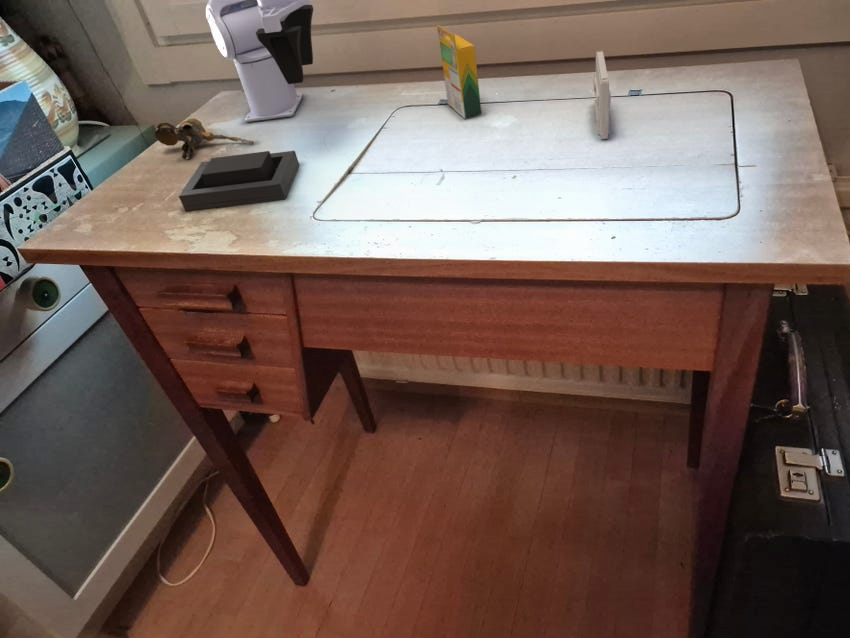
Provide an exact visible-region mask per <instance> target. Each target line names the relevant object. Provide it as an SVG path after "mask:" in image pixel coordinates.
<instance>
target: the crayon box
mask: <svg viewBox="0 0 850 638" xmlns="http://www.w3.org/2000/svg"><path fill="white" fill-rule="evenodd" d="M436 29H437V35H438V40H439V41H438V42H439V47H440V55H441V63H442V69H443V77H444V85H445V86H444V87H445V92H446V99H447V101H446V102H447V106H449V107H450V108H452V109H453V110H454V111H455V112H456V113H457V114H458V115H460V116H461V117H462V118H463V119H464V120H466V119H470V118H473V117H476V116H480V115H482V105H481V98H480V97H481V95H480V87H479V77H478V68H477V59H476V48H475V45H474V44H472V43H471V42H469V41H467V40H465V39H464V38H462V37H461V36H459V35H458V34H453V33H452V32H450V31H449V30H447V29H445V28H444V27H442V26H440V25H439V24H436ZM444 35H446V36H444Z"/></svg>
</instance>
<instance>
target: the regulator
mask: <svg viewBox="0 0 850 638" xmlns="http://www.w3.org/2000/svg"><path fill="white" fill-rule="evenodd" d="M154 137H155V139H156V140H157V141H158V142H159V143H160V144H163V145H165V146H169V147H170V146H176V145H177V144H178V143H179V142H183V144H182V146H181V151H183V152H182V154H181V159H184V160H189V159H191V157H190V155H193V154H194V153H195V148H199V146H200V145H202V143H203V141H204V140H205V141H206V142H213V141H214V140H228V141H233V142H238V141H239V142H241V143H244V142H245V143H248V144H254V141H253V140H251V139H250V140H249V139H245V138H241V137H237V136H227V135H223V134H214V133H213V132H210V131H206V129H205V127H204V126H203V124H202V122H201V121H200V120H199V119H197V118H188V119H187V120H185V121H182V122H180V124H179V126H178V127H176V126H175V125H173V124H171V123H169V122H161V123H159V124H158V125H157V126H156V128H155V132H154Z"/></svg>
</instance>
